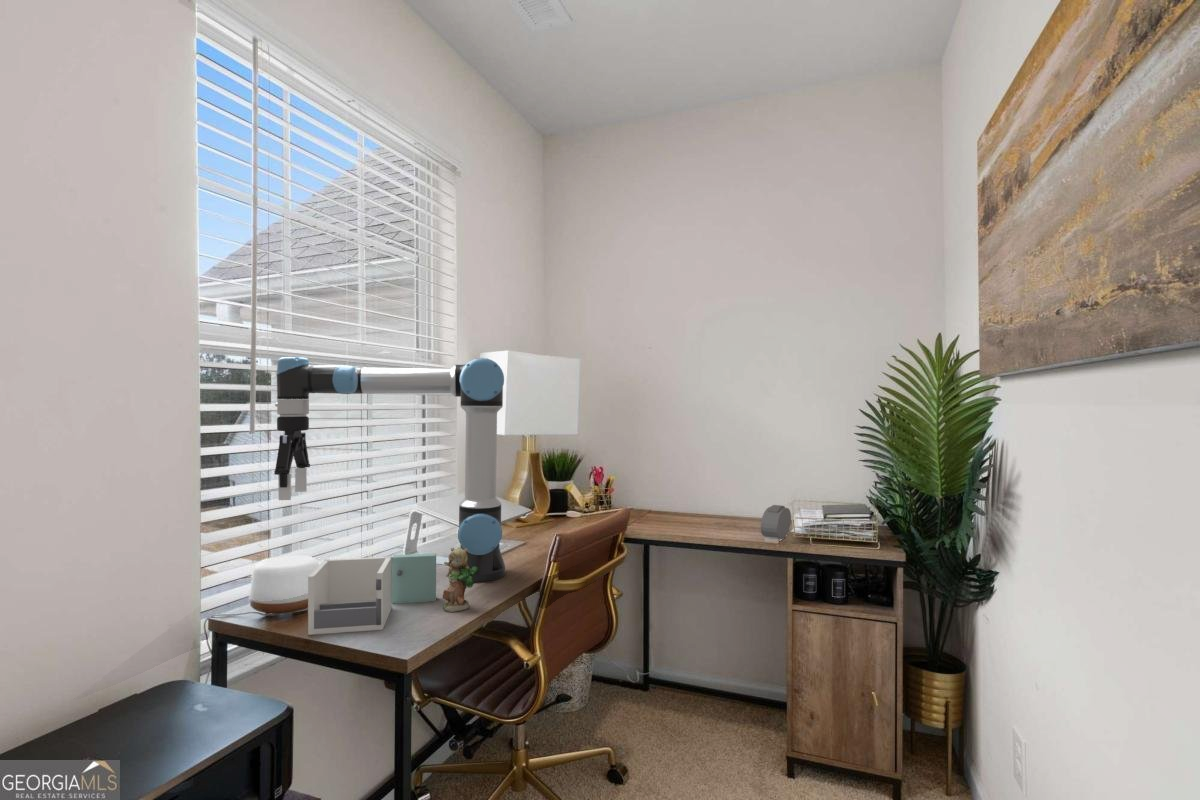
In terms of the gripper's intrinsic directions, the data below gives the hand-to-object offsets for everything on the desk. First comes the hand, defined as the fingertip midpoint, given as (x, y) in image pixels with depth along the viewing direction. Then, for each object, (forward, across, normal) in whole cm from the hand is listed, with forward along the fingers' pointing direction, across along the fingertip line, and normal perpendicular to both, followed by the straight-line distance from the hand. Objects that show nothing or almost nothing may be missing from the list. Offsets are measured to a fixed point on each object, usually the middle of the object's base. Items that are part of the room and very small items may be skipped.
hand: (293, 495), depth 158 cm
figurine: (+28, +14, +44) cm, 54 cm away
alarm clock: (+28, -40, +160) cm, 167 cm away
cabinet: (+28, +18, +19) cm, 38 cm away
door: (+28, +6, +32) cm, 43 cm away
